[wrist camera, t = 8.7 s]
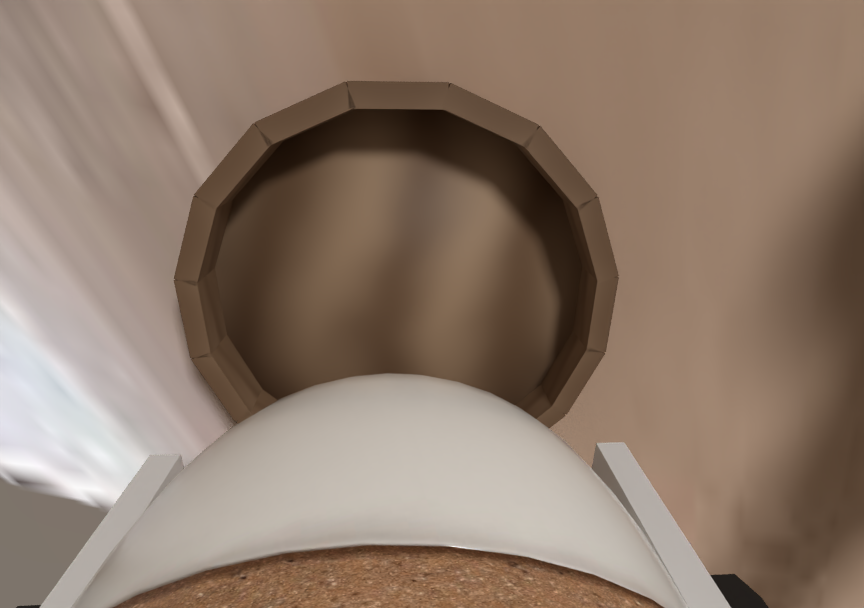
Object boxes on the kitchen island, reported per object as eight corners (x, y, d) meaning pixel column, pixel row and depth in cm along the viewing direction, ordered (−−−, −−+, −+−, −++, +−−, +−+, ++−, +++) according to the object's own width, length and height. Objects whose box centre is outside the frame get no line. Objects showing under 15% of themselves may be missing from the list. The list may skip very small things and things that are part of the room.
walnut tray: (621, 87, 22) (652, 85, 19) (567, 444, 30) (583, 478, 27) (166, 81, 21) (130, 78, 18) (236, 452, 29) (218, 489, 26)
